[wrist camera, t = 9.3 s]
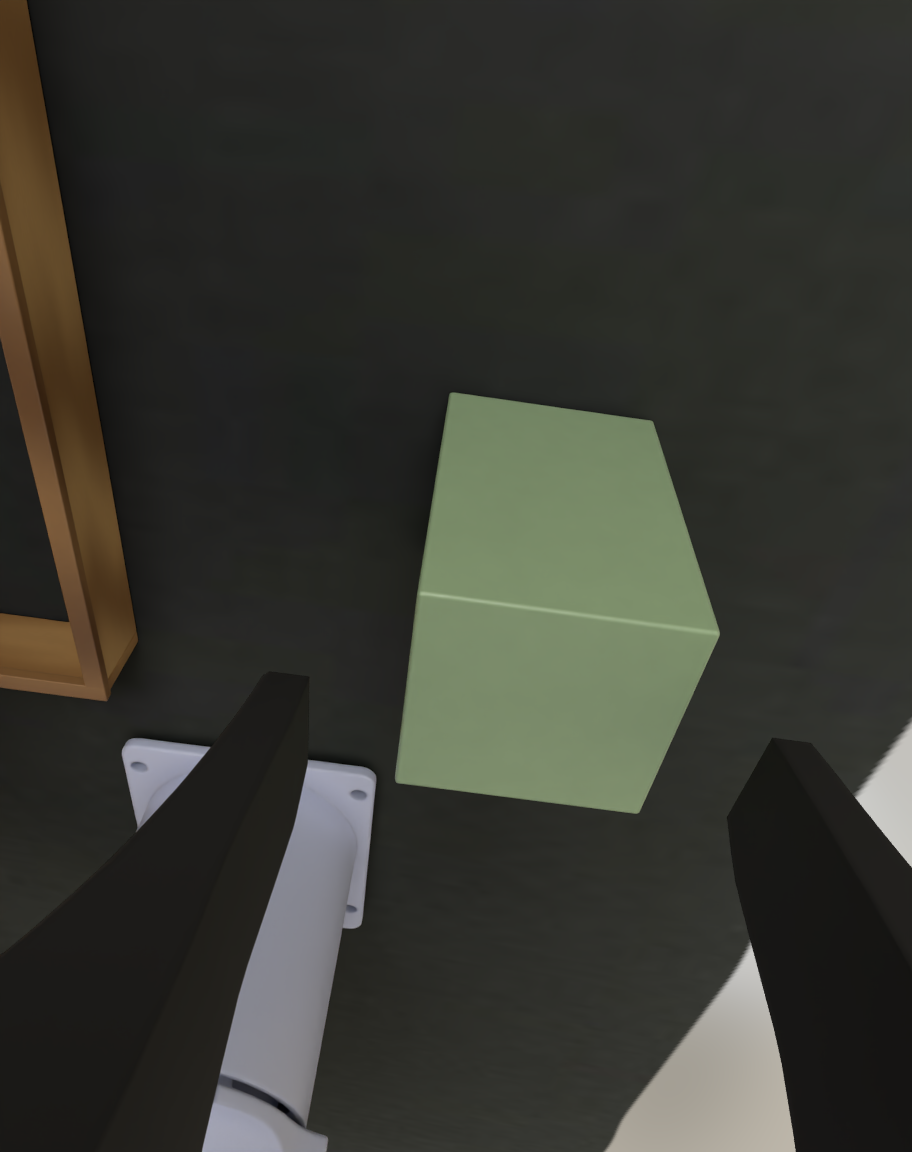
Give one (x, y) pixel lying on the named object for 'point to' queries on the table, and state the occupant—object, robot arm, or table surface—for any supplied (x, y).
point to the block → (551, 610)
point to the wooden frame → (54, 403)
